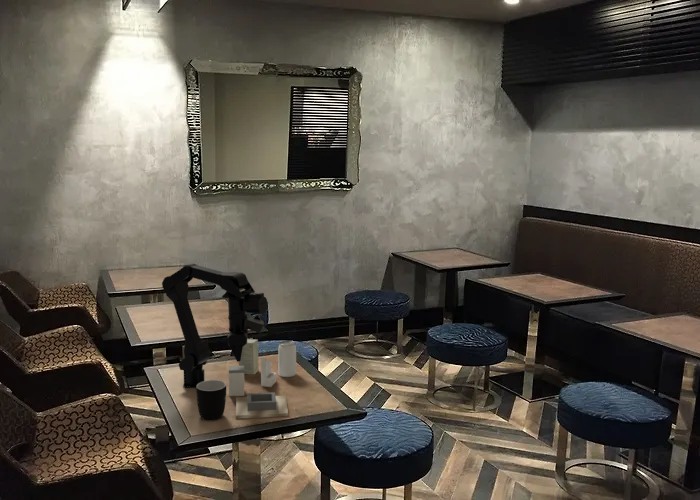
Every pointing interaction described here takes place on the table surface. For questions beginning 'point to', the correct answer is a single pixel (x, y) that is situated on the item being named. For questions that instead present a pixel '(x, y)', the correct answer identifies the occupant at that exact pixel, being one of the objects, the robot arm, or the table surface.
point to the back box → (261, 401)
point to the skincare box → (250, 357)
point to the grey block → (236, 380)
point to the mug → (211, 399)
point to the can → (287, 359)
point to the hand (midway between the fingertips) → (239, 357)
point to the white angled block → (267, 374)
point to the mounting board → (243, 413)
